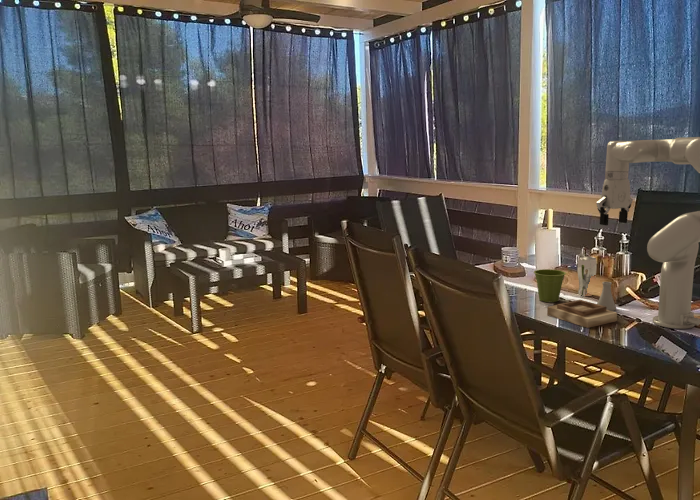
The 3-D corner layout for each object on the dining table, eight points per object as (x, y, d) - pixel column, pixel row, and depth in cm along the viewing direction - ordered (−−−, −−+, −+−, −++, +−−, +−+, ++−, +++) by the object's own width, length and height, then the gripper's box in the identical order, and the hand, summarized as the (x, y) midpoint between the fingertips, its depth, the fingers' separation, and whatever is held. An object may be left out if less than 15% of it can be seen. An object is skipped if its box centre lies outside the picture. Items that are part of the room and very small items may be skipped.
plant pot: (571, 303, 233) (572, 274, 231) (542, 305, 231) (543, 276, 229) (554, 295, 245) (555, 268, 243) (527, 297, 242) (528, 270, 240)
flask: (596, 311, 222) (597, 284, 220) (594, 306, 228) (595, 280, 227) (617, 312, 220) (619, 285, 218) (615, 307, 226) (616, 280, 225)
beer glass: (597, 296, 241) (599, 259, 238) (580, 297, 241) (581, 260, 238) (591, 292, 248) (592, 256, 245) (574, 292, 248) (575, 256, 245)
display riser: (616, 321, 209) (617, 308, 209) (587, 327, 203) (588, 314, 202) (575, 309, 225) (575, 297, 224) (547, 314, 219) (547, 302, 218)
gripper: (608, 178, 210) (604, 227, 213) (642, 175, 217) (638, 223, 221) (590, 176, 216) (587, 224, 220) (624, 174, 224) (621, 220, 227)
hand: (613, 223), depth 220 cm, fingers open, 9 cm apart
